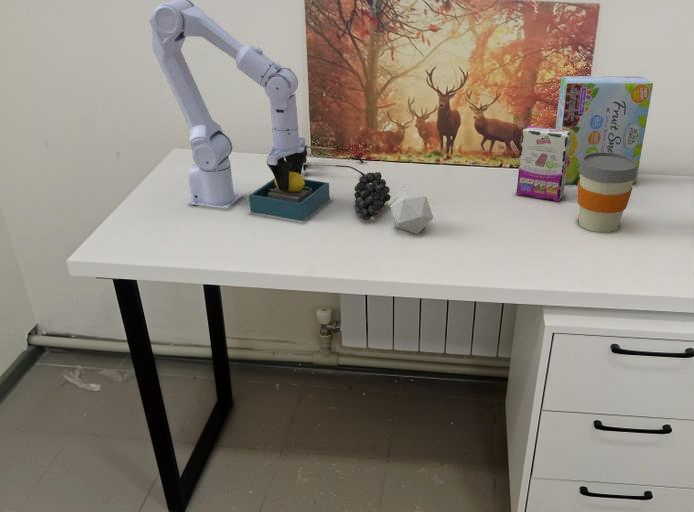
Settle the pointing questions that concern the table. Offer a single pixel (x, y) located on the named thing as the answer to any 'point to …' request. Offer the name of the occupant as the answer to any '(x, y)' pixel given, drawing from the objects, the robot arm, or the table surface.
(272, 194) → the grey block
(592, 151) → the snack box
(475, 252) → the table surface
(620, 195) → the reusable coffee cup
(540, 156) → the candy bar box
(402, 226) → the die
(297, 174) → the lemon
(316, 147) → the sunglasses
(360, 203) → the fruit
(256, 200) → the crate
